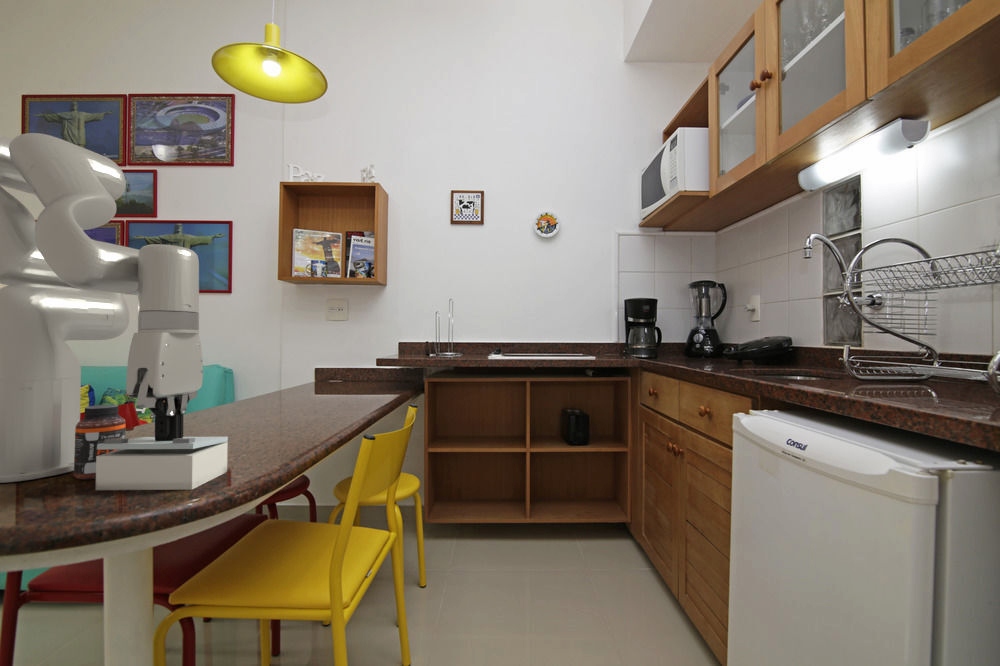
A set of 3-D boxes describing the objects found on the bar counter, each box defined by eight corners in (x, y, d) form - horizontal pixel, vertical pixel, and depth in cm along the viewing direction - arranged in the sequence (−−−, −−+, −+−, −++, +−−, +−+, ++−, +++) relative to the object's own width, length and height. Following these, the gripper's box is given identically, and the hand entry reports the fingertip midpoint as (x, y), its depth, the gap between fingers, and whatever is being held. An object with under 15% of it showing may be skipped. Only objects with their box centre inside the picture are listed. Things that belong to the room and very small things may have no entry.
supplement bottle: (99, 481, 63) (100, 409, 63) (62, 480, 63) (63, 409, 64) (134, 469, 69) (135, 403, 69) (100, 468, 69) (101, 403, 70)
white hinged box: (95, 490, 59) (96, 456, 60) (142, 472, 67) (142, 442, 68) (192, 489, 60) (192, 455, 60) (227, 471, 68) (227, 442, 68)
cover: (96, 449, 60) (97, 439, 60) (142, 441, 68) (143, 433, 68) (192, 448, 60) (193, 439, 60) (227, 441, 68) (228, 432, 68)
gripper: (180, 326, 71) (180, 430, 71) (100, 322, 56) (99, 454, 56) (224, 325, 72) (224, 429, 71) (155, 321, 57) (154, 452, 56)
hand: (169, 439), depth 64 cm, fingers closed
